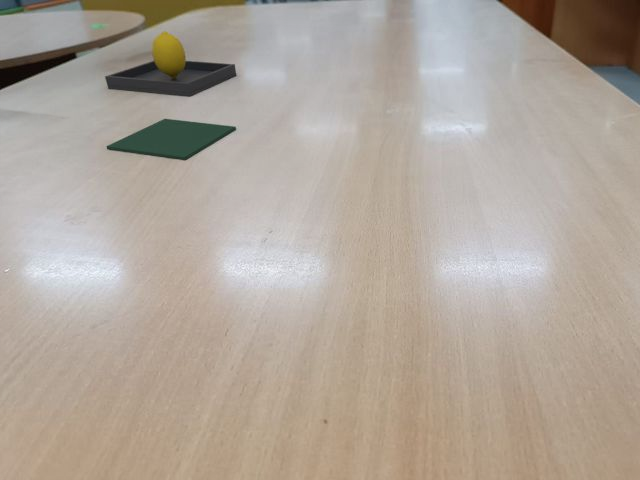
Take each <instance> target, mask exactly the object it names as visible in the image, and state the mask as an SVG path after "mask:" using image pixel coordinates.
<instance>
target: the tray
mask: <svg viewBox="0 0 640 480" xmlns="http://www.w3.org/2000/svg"><path fill="white" fill-rule="evenodd" d="M236 69H237V68H236V64H235V63H223V62H222V63H221V62H209V61H196V60H195V61H194V60H186V64H185V67H184V69H183V71H182V72H181V73H179V74H178V75H177V77H176V78H171V77H170V76H169V75H167V74H164V73H163V72H161V71H160V70H159V69H158V67H157V66H156V64H155V62H154V60H152V61H148V62H145V63H142V64H139V65H135V66H133V67H130V68H126V69H124V70H120V71H117V72H115V73H111V74H108V75H105V76H104V79H105V82H106V86H107V89H108V90H109V89H110V90H118V91H119V90H120V91H129V92H138V93H140V92H141V93H148V94H149V93H150V94H160V95H169V96H170V95H171V96H180V97H192V96H194V95H196V94H198V92H199V93H202V92H203V91H206V90H208V89H210V88H212V87H214V86H217V85H218V84H221V83H223V82H225V81H227V80H230V79H233V78H234V77H237V70H236Z"/></svg>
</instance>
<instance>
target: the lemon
mask: <svg viewBox="0 0 640 480" xmlns="http://www.w3.org/2000/svg"><path fill="white" fill-rule="evenodd" d="M151 49H152V50H151V52H152V58H153V61H154V62H155V64H156V66H157V67H158V69H159V70H160V71H161V72H163V73H164V74H167V75H169V76H170V77H171V78H176V77H177V75H178V74H179V73H181V72H182V71H183V69H184V67H185V64H186V61H187V58H186V52H185V49H184V47H183V45H182V42H181V41H180V40H179V38H177V37H176V36H175V35H174V34H171V33H168V31H165V30H164V31H162V32H161V33H160V34H158V35H157V36H156V37H155V38H154V40H153V42H152V48H151Z"/></svg>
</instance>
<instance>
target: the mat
mask: <svg viewBox="0 0 640 480" xmlns="http://www.w3.org/2000/svg"><path fill="white" fill-rule="evenodd" d="M236 130H237V127H236V126H234V125H233V126H232V125H225V124H216V123H215V124H214V123H207V122H199V121H190V120H189V121H188V120H179V119H172V118H163V119H161V120H158V121H156V122H154V123H152V124H151V125H147V126H146V127H144V128H142V129H139V130H137V131H136V132H133V133H132V134H129V135H127V136H125V137H124V138H121V139H119V140H116V141H115V142H112V143H110V144H108V145H106V150H112V151H118V152H119V151H120V152H125V153H132V154H140V155H147V156H155V157H162V158H169V159H175V160H182V161H187V160H188V159H189V158H191V157H192V156H194V155H196V154H198V153H199V152H201V151H203V150H205V149H206V148H208V147H209V146H211V145H212V144H214V143H216V142H218V141H219V140H221V139H223V138H225V137H226V136H228V135H229V134H231V133H232V132H234V131H236Z"/></svg>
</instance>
